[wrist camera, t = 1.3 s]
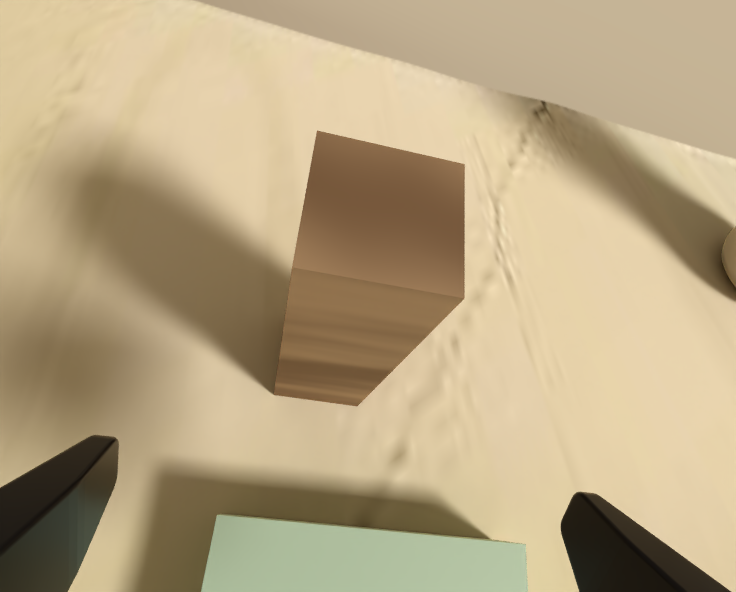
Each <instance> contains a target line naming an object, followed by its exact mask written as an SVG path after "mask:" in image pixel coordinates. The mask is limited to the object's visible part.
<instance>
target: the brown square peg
mask: <svg viewBox="0 0 736 592" xmlns="http://www.w3.org/2000/svg"><path fill="white" fill-rule="evenodd" d="M464 180H465V164H461V163H457V162H452V161H448V160H444V159H439V158H435V157H431V156H426V155H422V154H417V153H413V152H409V151H404V150H400V149H395V148H391V147H387V146H382V145H378V144H373V143H369V142H365V141H360V140H356V139H351V138H347V137H343V136H338V135H334V134H329V133H325V132H321V131H317V134H316V140H315V145H314V151H313V156H312V161H311V167H310V172H309V178H308V183H307V189H306V194H305V200H304V205H303V211H302V216H301V222H300V227H299V233H298V238H297V243H296V249H295V254H294V260H293V265H292V272H291V279H290V286H289V292H288V299H287V306H286V313H285V320H284V327H283V334H282V341H281V348H280V355H279V361H278V368H277V375H276V382H275V389H274V395H279V396H286V397H294V398H301V399H308V400H315V401H323V402H330V403H337V404H345V405H352V406H358V405H359V404H360V403H361V402H362V401H363V400H364V399H365V398H366V397H367V396H368V395H369V394H370V393H371V392H372V391H373V390H374V389H375V388H376V387H377V386H378V385H379V384H380V383H381V382H382V381H383V380H384V379H385V378H386V377H387V376H388V375H389V374H390V373H391V372H392V371H393V370H394V369H395V368H396V367H397V366H398V365H399V364H400V363H401V362H402V361H403V360H404V359H405V358H406V357H407V356H408V355H409V354H410V353H411V352H412V351H413V350H414V349H415V348H416V347H417V346H418V345H419V344H420V343H421V342H422V341H423V340H424V339H425V338H426V337H427V336H428V335H429V334H430V333H431V332H432V330H433V329H434V328H435V327H436V326H437V325H438V324H439V323H440V322H441V321H442V320H443V319H444V318H445V317H446V316H447V315H448V314H449V313H450V312H451V311H452V310H453V309H454V308H455V307H456V306H457V305H458V304H459V303H460V302H461V301H462V300H463V299H464Z"/></svg>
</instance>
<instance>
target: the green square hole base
mask: <svg viewBox="0 0 736 592" xmlns="http://www.w3.org/2000/svg"><path fill="white" fill-rule="evenodd" d="M201 592H528V583H527V563H526V544H520V543H513V542H506V541H499V540H492V539H481V538H471V537H460V536H450V535H440V534H429V533H419V532H409V531H398V530H388V529H377V528H367V527H357V526H346V525H336V524H325V523H315V522H305V521H294V520H284V519H273V518H263V517H253V516H242V515H232V514H218V515H217V517H216V522H215V527H214V532H213V536H212V541H211V546H210V551H209V556H208V560H207V565H206V570H205V575H204V580H203V584H202V589H201Z"/></svg>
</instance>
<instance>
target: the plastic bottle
mask: <svg viewBox="0 0 736 592" xmlns="http://www.w3.org/2000/svg"><path fill="white" fill-rule="evenodd" d="M721 253H722V262H723V266H724V269H725V271H726V273H727V275H728V277H729V279H730V280H731V282H732V283H733V284H734V286H735V287H736V227H735V228H734V229H732V230H731V231H730V232H729V234H728V236H727V238H726V240H725V242H724V245H723V247H722V252H721Z"/></svg>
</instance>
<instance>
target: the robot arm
mask: <svg viewBox="0 0 736 592" xmlns="http://www.w3.org/2000/svg"><path fill="white" fill-rule="evenodd" d="M118 450H119V443H118V440H117V439H116V438H115V437H109V436H101V435H93V436H90V437H88V438H86V439H85V440H83V441H81V442H79V443H78V444H76V445H74V446H72V447H71V448H69V449H67V450H65V451H64V452H62V453H60V454H58V455H57V456H55V457H53V458H51V459H50V460H48V461H46V462H44V463H43V464H41V465H39V466H37V467H36V468H34V469H32V470H30V471H29V472H27V473H25V474H23V475H22V476H20V477H18V478H16V479H15V480H13V481H11V482H9V483H8V484H6V485H4V486H2V487H1V488H0V592H68V590H69V588H70V586H71V584H72V582H73V580H74V578H75V576H76V575H77V573H78V570H79V568H80V566H81V564H82V561H83V559H84V557H85V554H86V552H87V550H88V547H89V545H90V543H91V540H92V538H93V536H94V533H95V531H96V529H97V526H98V524H99V522H100V519H101V517H102V515H103V512H104V510H105V508H106V505H107V503H108V501H109V498H110V496H111V494H112V491H113V489H114V486H115V483H116V479H117V473H118ZM561 534H562V537H563V540H564V544H565V547H566V550H567V553H568V556H569V560H570V563H571V566H572V569H573V573H574V576H575V579H576V582H577V585H578V589H579V592H731V591H729V590H728V589H727V588H725V587H724V586H723V585H721V584H720V583H719V582H717V581H716V580H714V579H713V578H712V577H710V576H709V575H708V574H706V573H705V572H703V571H702V570H701V569H699V568H698V567H697V566H695V565H694V564H692V563H691V562H690V561H688V560H687V559H686V558H684V557H683V556H681V555H680V554H679V553H677V552H676V551H675V550H673V549H672V548H670V547H669V546H668V545H666V544H665V543H664V542H662V541H661V540H659V539H658V538H657V537H655V536H654V535H653V534H651V533H650V532H648V531H647V530H646V529H644V528H643V527H642V526H640V525H639V524H637V523H636V522H635V521H633V520H632V519H631V518H629V517H628V516H626V515H625V514H624V513H622V512H621V511H620V510H618V509H617V508H615V507H614V506H613V505H611V504H610V503H609V502H607V501H606V500H605V499H603V498H602V497H600V496H599V495H597V494H594V493H587V492H577V493H575V494H574V495H573V497H572V499H571V501H570V503H569V505H568V508H567V510H566V512H565V514H564V516H563V518H562V521H561Z"/></svg>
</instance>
